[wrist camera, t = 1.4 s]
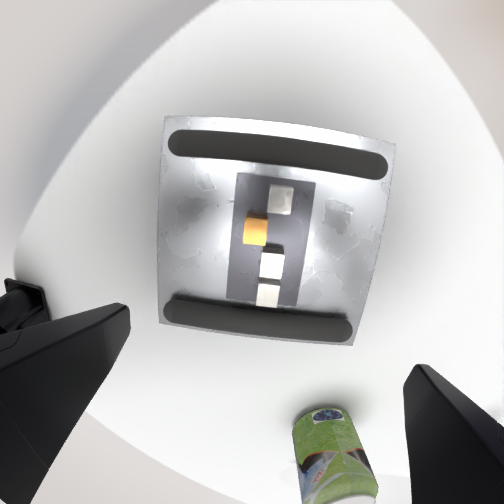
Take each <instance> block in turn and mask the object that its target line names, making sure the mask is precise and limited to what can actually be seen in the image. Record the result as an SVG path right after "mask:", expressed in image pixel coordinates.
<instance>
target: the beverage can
mask: <svg viewBox="0 0 504 504" xmlns="http://www.w3.org/2000/svg"><path fill="white" fill-rule="evenodd" d="M292 436H293V443H294V450H295V457H296V464H297V470H298V477H299V484H300V491H301V499H302V504H376V500H375V498H376V496H377V493H378V484H377V481H376V479H375V476H374V474H373V471H372V469H371V466H370V464H369V461H368V459H367V456H366V454H365V452H364V449H363V447H362V444H361V442H360V439H359V437H358V435H357V432H356V430H355V427H354V425H353V422H352V420H351V418H350V416H349V415H348V413H346V412H345V411H343V410H341V409H338V408H321V409H317V410H314V411H312V412H309V413H308V414H306V415H304V416H303V417H301V418H300V419H299V420H298V421H297V423H296V424H295V426H294V428H293V431H292Z"/></svg>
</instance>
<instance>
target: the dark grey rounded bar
mask: <svg viewBox="0 0 504 504" xmlns="http://www.w3.org/2000/svg"><path fill="white" fill-rule="evenodd" d="M168 148H169V150H170V152H171V153H172V154H174V155H176V156H179V157H195V158H211V159H224V160H236V161H247V162H257V163H266V164H274V165H283V166H291V167H298V168H305V169H312V170H319V171H325V172H331V173H337V174H343V175H349V176H354V177H360V178H365V179H370V180H380V179H382V178H383V177H385V175H386V174H387V172H388V163H387V160H386V159H385V158H384V157H383V156H382V155H381V154H378V153H375V152H370V151H366V150H361V149H356V148H351V147H346V146H340V145H335V144H329V143H323V142H317V141H310V140H304V139H297V138H289V137H281V136H273V135H264V134H253V133H242V132H229V131H213V130H190V129H180V130H177V131H175V132H173V133H172V134H171V135H170V137H169V139H168Z"/></svg>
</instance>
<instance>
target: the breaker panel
mask: <svg viewBox="0 0 504 504" xmlns="http://www.w3.org/2000/svg"><path fill="white" fill-rule="evenodd" d="M180 129H190V130H213V131H229V132H242V133H253V134H264V135H273V136H281V137H289V138H297V139H304V140H310V141H317V142H323V143H329V144H335V145H340V146H346V147H351V148H356V149H361V150H366V151H370V152H375V153H378V154H381V155H382V156H383V157H384V158H385V159H386V160H387V163H388V172H387V174H386V175H385V177H383V178H382V179H380V180H370V179H365V178H360V177H354V176H349V175H343V174H337V173H331V172H325V171H319V170H312V169H305V168H298V167H291V166H283V165H274V164H266V163H257V162H247V161H236V160H224V159H211V158H195V157H179V156H176V155H174V154H172V153H171V152H170V150H169V148H168V139H169V137H170V135H171V134H172V133H173V132H175V131H177V130H180ZM394 154H395V144H393V143H389V142H385V141H381V140H377V139H372V138H368V137H363V136H359V135H354V134H349V133H344V132H339V131H333V130H328V129H322V128H316V127H309V126H302V125H295V124H288V123H280V122H271V121H261V120H251V119H238V118H223V117H200V116H165V121H164V130H163V141H162V152H161V165H160V180H159V198H158V229H157V281H158V311H159V323H162V324H167V325H172V326H178V327H184V328H190V329H196V330H202V331H209V332H216V333H223V334H230V335H237V336H245V337H253V338H262V339H271V340H281V341H291V342H303V343H316V344H331V345H349V346H352V345H353V342H354V339H355V336H356V333H357V330H358V326H359V323H360V320H361V316H362V313H363V309H364V306H365V302H366V299H367V295H368V291H369V288H370V284H371V280H372V276H373V272H374V267H375V263H376V259H377V254H378V250H379V245H380V241H381V236H382V231H383V226H384V220H385V215H386V209H387V203H388V197H389V191H390V184H391V177H392V170H393V162H394ZM173 299H177V300H183V301H190V302H196V303H203V304H210V305H217V306H225V307H232V308H240V309H248V310H256V311H265V312H274V313H283V314H293V315H303V316H314V317H325V318H338V319H345V320H347V321H349V322H350V323H351V325H352V328H353V333H352V335H351V337H350V339H348V340H347V341H345V342H342V343H338V342H322V341H309V340H297V339H286V338H276V337H266V336H258V335H249V334H241V333H233V332H226V331H219V330H212V329H206V328H199V327H193V326H187V325H181V324H175V323H171V322H169V321H168V320H167V319H166V318H165V317H164V314H163V308H164V306H165V304H166V303H167V302H168V301H170V300H173Z"/></svg>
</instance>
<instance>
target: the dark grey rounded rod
mask: <svg viewBox="0 0 504 504" xmlns="http://www.w3.org/2000/svg"><path fill="white" fill-rule="evenodd" d="M163 314H164V317H165V318H166V319H167V320H168V321H169V322H171V323H175V324H181V325H187V326H193V327H199V328H206V329H212V330H219V331H226V332H233V333H241V334H249V335H258V336H266V337H276V338H286V339H297V340H309V341H322V342H338V343H342V342H345V341H347V340H348V339H350V337H351V335H352V333H353V328H352V325H351V323H350V322H349V321H347V320H345V319H338V318H325V317H314V316H303V315H293V314H283V313H274V312H265V311H256V310H248V309H240V308H232V307H225V306H217V305H210V304H203V303H196V302H190V301H183V300H177V299H173V300H170V301H168V302H167V303H166V304H165V306H164V308H163Z"/></svg>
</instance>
